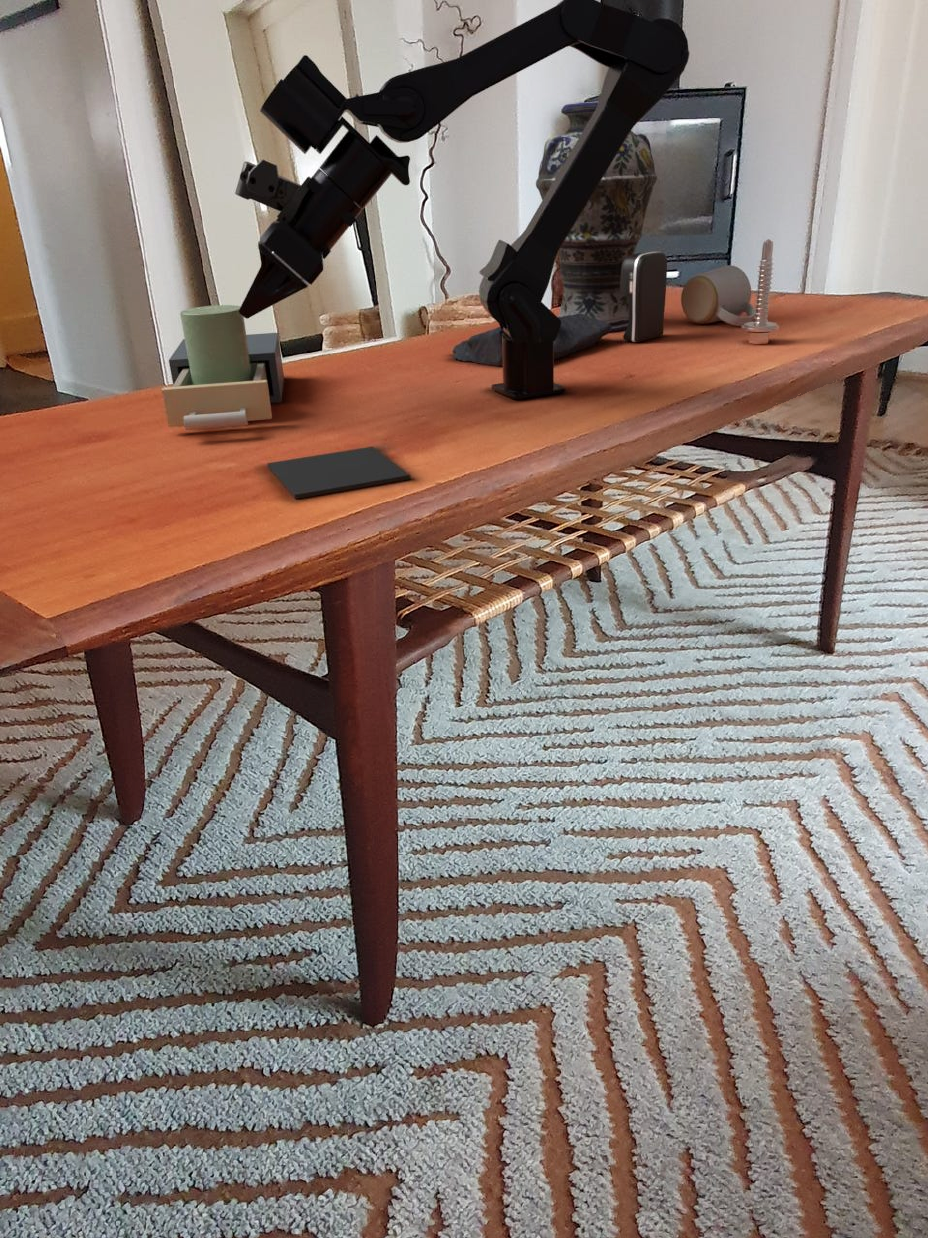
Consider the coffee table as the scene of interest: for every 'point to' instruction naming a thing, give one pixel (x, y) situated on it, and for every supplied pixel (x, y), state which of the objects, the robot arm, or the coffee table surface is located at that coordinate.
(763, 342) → the screw
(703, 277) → the ceramic mug
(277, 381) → the cabinet
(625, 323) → the vase
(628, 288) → the battery charger
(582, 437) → the coffee table surface
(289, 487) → the coaster
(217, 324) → the can
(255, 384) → the drawer
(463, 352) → the dark slate chunk
